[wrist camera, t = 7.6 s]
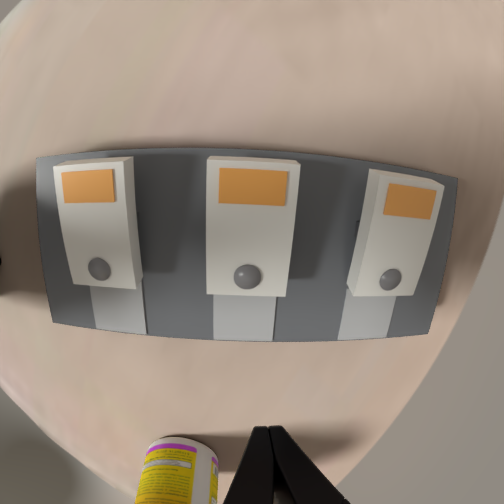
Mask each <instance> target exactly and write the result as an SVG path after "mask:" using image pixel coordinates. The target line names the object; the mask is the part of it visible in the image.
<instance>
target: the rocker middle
mask: <svg viewBox="0 0 504 504" xmlns="http://www.w3.org/2000/svg"><path fill="white" fill-rule="evenodd" d="M300 166H301V165H300V164H299V163H298V162H297V161H296V160H285V159H271V158H254V157H232V156H210V157H209V158H208V159H207V176H206V285H207V294H216V295H241V296H276V297H285V296H286V288H287V281H288V273H289V265H290V257H291V249H292V241H293V232H294V224H295V215H296V206H297V196H298V187H299V176H300Z"/></svg>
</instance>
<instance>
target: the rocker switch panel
mask: <svg viewBox="0 0 504 504" xmlns="http://www.w3.org/2000/svg"><path fill="white" fill-rule="evenodd" d="M210 156H232V157H254V158H271V159H285V160H296V161H297V162H298V163H299V164H300V165H301V166H300V176H299V187H298V196H297V206H296V215H295V224H294V232H293V241H292V249H291V257H290V265H289V273H288V281H287V288H286V296H285V297H276V296H241V295H216V294H207V285H206V176H207V159H208V158H209V157H210ZM113 157H133V164H134V186H135V202H136V215H137V227H138V237H139V247H140V255H141V264H142V271H143V278H142V280H141V281H140V283H139V285H138V287H137V289H125V288H112V287H100V286H89V285H79V284H73V280H72V276H71V272H70V268H69V263H68V259H67V254H66V250H65V245H64V240H63V235H62V229H61V224H60V218H59V211H58V205H57V197H56V190H55V181H54V171H53V166H56V165H58V164H60V163H63V162H65V161H73V160H84V159H97V158H113ZM369 169H376V170H382V171H389V172H395V173H401V174H407V175H412V176H418V177H423V178H428V179H432V180H434V181H436V182H438V183H440V184H442V185H444V186H445V187H444V192H443V196H442V200H441V205H440V209H439V213H438V217H437V221H436V225H435V228H434V232H433V236H432V239H431V242H430V246H429V249H428V253H427V256H426V259H425V262H424V265H423V268H422V271H421V274H420V277H419V280H418V283H417V286H416V288H415V291H414V294H413V295H412V296H353V295H352V293H351V291H350V289H349V287H348V285H347V279H348V275H349V270H350V266H351V262H352V257H353V253H354V248H355V244H356V239H357V234H358V230H359V225H360V219H361V214H362V209H363V204H364V198H365V192H366V186H367V180H368V174H369ZM457 183H458V178H454V177H450V176H446V175H441V174H436V173H432V172H427V171H422V170H417V169H412V168H406V167H401V166H395V165H390V164H384V163H377V162H371V161H364V160H357V159H350V158H342V157H334V156H325V155H316V154H306V153H295V152H283V151H269V150H253V149H230V148H146V149H124V150H108V151H95V152H83V153H73V154H64V155H55V156H47V157H40V158H36V198H37V218H38V231H39V242H40V251H41V259H42V266H43V273H44V279H45V285H46V291H47V296H48V301H49V306H50V311H51V316H52V320H53V323H59V324H65V325H71V326H77V327H84V328H91V329H98V330H105V331H113V332H121V333H130V334H140V335H150V336H160V337H172V338H186V339H202V340H222V341H252V342H313V341H344V340H363V339H378V338H392V337H403V336H414V335H423V334H428V332H429V329H430V325H431V322H432V319H433V315H434V312H435V308H436V304H437V300H438V297H439V293H440V288H441V284H442V280H443V276H444V271H445V266H446V261H447V256H448V251H449V245H450V240H451V233H452V227H453V220H454V212H455V204H456V194H457Z"/></svg>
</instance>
